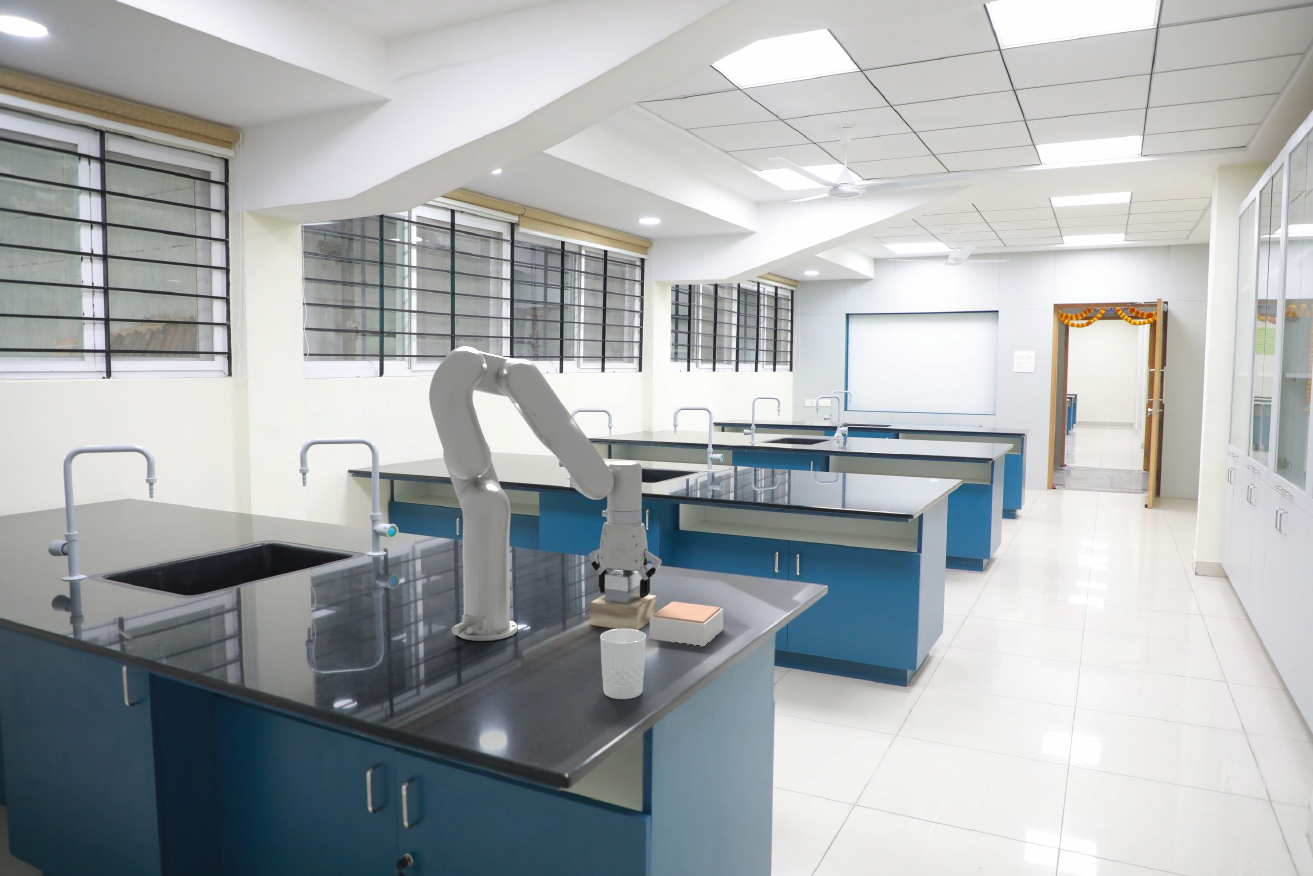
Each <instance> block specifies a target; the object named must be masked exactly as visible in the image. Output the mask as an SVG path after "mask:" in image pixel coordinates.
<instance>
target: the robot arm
mask: <svg viewBox="0 0 1313 876" xmlns="http://www.w3.org/2000/svg"><path fill="white" fill-rule="evenodd" d="M474 391H475V392H476V391H478V392H481V393H486V394H491V395H496V396H501V397H505V398H508V399H509V401H510V402H511V403H512V404H513V406H514V408H515V409H516V410H517V411H518V413H519V414H520V416H521V417H522V418H523V420H524V421H525V423H526V424H527V425H528V427H529V428H530V430H531V432H532V433H533V434H534V436H535V437H536V438H537V439H538V440H539V441H540V443H541V444H543V446H544V447H545V448H547V449H548V450H549V451H550V452H551V453H552V454H553V455H554V456H555V457H556V458H557V460H558V461H559V462H560V463H561V465H563V467H564V468H565V470H566V471H567V472H568V474H569V475H570V476H569V480H570V482H571V485H572V487H573V488H574V489H575V490H576V491H577V492H579V493H580V494H582V495H583V496H584V497H585V498H588V499H591V500H596V501H597V500H602V499H604V498H607V500H606V501H607V504H606V506H607V508H606V510H602V512H601V516H602V517H605V518H606V521H605V522H604V523H603V525H602V528H601V529H602V530H601V535H600V541H599V548H597V549H596V550H592V551H591V552H589V553H588V554H587V557H588V559H589V561H590V563H591V567H592V568H593V569H594V570H595V571H596V574H597V575H598V588H599V593H600V594H605V575H606V574H608V573H609V572H608V570H613V571H614V570H623V571H638V573H639V574H640V576H641V577H642V579H641V580H640V597H641V598H644V597H646V596H647V595H649V593H650V591H651V578H652V577H653V576H654V575H655V574H656V573H657V572H658V569H659V568H660V566H661V564H662V559H661V558H659V557H658V556H656V555H655V554H653V553H652V552H650V551H649V550H648V549H649V548H648V538H647V531H646V527H645V524H644V523H643V521H642V520H643V518H642V516H643V515H642V510H643V509H642V507H643V506H642V503H643V501H642V500H643V499H642V497H643V496H642V495H643V489H642V488H643V485H642V484H643V479H642V478H643V474H642V473H643V470H642V469H643V468H642V465H641V463H640V462H638V461H635V460H614V461H605V460H604V459H603V457H602V456H601V454H600V453H599V451H598V450H597V448H595V446H594V445H593V443H592V442H591V440H589V438H588V436H586V434H585V433H584V431H583V430H582V429H581V428H580V426H579V424H578V423H577V421H576V420H575V419H574V418H573V416H572V415H571V414H570V412H569V411H568V410H567V408H566V407H565V405H564V404H563V403H562V401H561V400H560V398H559V397H558V396H557V393H556V392H555V391H554V390H553V388H552V387H551V386H550V384H549V382H548V381H547V379H546V378H545V376H544V375H543V374H542V373H541V371H540V370H539V368H538V366H536V365H535V364H534V363H533V362H532V361H530V360H527V359H522V358H520V359H519V358H511V357H506V356H505V357H504V356H500V355H495V354H493V353H487V352H483V351H479V350H478V349H476V348H474V347H471V346H459V347H457V348H454V349H453V350H451V351H450V352H449V353H447V355H446V356H445V358H444V359H443V360H442V362H441V363H440V364H439V365H438V367H437V368H436V370H435V372H434V373H433V376H432V379H431V382H430V387H429V393H428V394H429V396H428V401H429V407H430V408H429V409H430V411H431V415H432V419H433V421H434V424H435V428H436V432H437V434H438V438H439V440H440V443H441V446H442V449H443V450H442V451H443V455H442V456H443V460H444V463H445V466H446V469H447V472H448V475H449V477H450V481H451V483H452V486H453V489H454V491H455V494H456V497H457V500H458V502H459V505H460V509H461V511H462V565H463V566H462V567H463V569H462V570H463V573H462V574H463V575H462V576H463V582H462V583H463V584H462V587H463V590H462V591H463V615H461V621H460V623H457V624H455V625H453V626H452V628H451V633H452V635H453V636H458V637H459V638H460V639H463V640H468V641H473V642H474V641H475V642H476V641H477V642H486V641H487V642H489V641H496V640H503V639H506V638H509V637H511V636H514V635H515V634H516V633H517V631H518V624H517V623H516V622H515V621H513V620H511V619H510V618H511V615H510V613H511V606H510V605H511V603H510V598H511V597H510V596H511V595H510V593H511V592H510V591H511V589H510V586H511V584H510V583H511V582H510V578H511V577H510V569H511V568H510V533H511V532H510V529H511V528H510V527H511V516H512V514H511V511H512V510H511V503H510V499H509V497H508V495H507V493H506V492H505V491H504V490H503V488H502V486H501V484H500V482H499V478H498V476H497V473H496V470H495V467H494V464H493V462H492V461H493V460H492V453H491V448H490V446H489V444H488V442H487V441H486V438H485V436H484V435H485V434H484V433H483V430H482V428H481V425H480V422H479V418H478V415H477V411H476V409H475V406H474V400H473V395H474ZM598 557H599V559H598ZM648 562H651V563H652V565H651V568H649V567H648Z"/></svg>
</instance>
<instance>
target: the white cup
mask: <svg viewBox="0 0 1313 876" xmlns="http://www.w3.org/2000/svg"><path fill="white" fill-rule="evenodd" d="M599 639H600V660H601V661H600V663H601V677H602V687H603V688H602V690H603V691H602V692H603V694H604V696H606V697H608V698H611V699H616V700H629V699H635V698H638V697H639V696H641V695H642V693H643V691H644V676H645V665H646V649H647V647H646V646H647V634H646V633H645V632H643V631H640V630H634V629H617V628H612V629H609V630H606V631H603V632H602V633H601V634H600V637H599Z"/></svg>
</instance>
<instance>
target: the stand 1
mask: <svg viewBox="0 0 1313 876" xmlns="http://www.w3.org/2000/svg"><path fill="white" fill-rule="evenodd" d="M657 597H658V596H657V595H655V594H648V595H647V596H646V597H644V598H641V597H640V598H638V599H637V600H635V601H633V602H632V603H630V604H629V605H624V604H616V603H609V602H605V594H603V595H601V596H599V597H597V598H595V599H594V600H592V601H590V603H589V605H590V607H589V608H590V610H589V611H590V616H589V617H590V620H589V622H590V623H589V624H590V625H591V626H596V627H602V628H603V627H604V628H609V629H634V630H638V631H640V630H641V629H642V628H643V627H645V626H646V625H647V624H650V617H651V616H652V615H653V614H655V613H656V612H658V609H657V606H658V605H657V604H658V603H657V601H658V599H657ZM640 628H641V629H640Z"/></svg>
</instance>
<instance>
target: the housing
mask: <svg viewBox="0 0 1313 876" xmlns="http://www.w3.org/2000/svg"><path fill="white" fill-rule="evenodd" d="M641 579H642V577H641V576H640V574H639V573H638V571H623V570H614V569H613V570H612V571H610V572H608V574H606V575H605V592H604V595H605V602H609V603H616V604H624V605H629V604H630V603H632V602H633V601H635V600H637V599H638V598H640V580H641Z"/></svg>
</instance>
